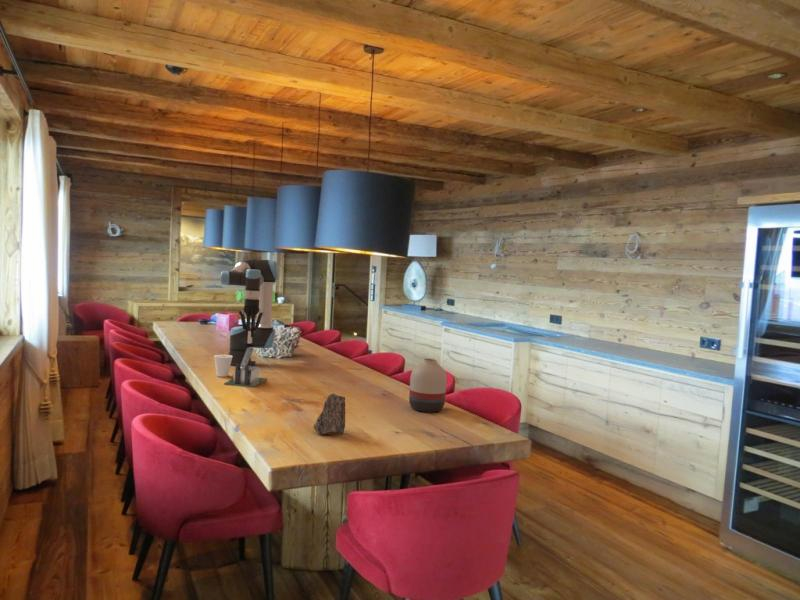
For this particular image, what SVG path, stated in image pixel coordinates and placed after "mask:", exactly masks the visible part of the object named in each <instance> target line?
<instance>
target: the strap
mask: <svg viewBox="0 0 800 600" xmlns="http://www.w3.org/2000/svg"><path fill="white" fill-rule="evenodd" d="M253 352H254V348H251V347H249V348H247V350H246V353H245V355H244V358H243V360H242V363H241V365H240V367H239V370H245V366H246V365H247V364H248V362H249V359H250V357H251V356H252V354H253ZM251 358H252V357H251Z"/></svg>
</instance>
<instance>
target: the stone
mask: <svg viewBox="0 0 800 600" xmlns="http://www.w3.org/2000/svg"><path fill="white" fill-rule="evenodd" d="M345 428H346V397H345V396H342V395H337V394H336V393H330V394H328V396H327V399H326V400H325V401H324V405H323V408H322V411H321V413H320V414H319V415H318V417H317V418H316V421H315V423H314V425H313V429H314V431H315V432H316V434H317V435H319V436H323V435H327V434H331V433H340V434H341V433H342V434H344V433H345Z"/></svg>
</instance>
